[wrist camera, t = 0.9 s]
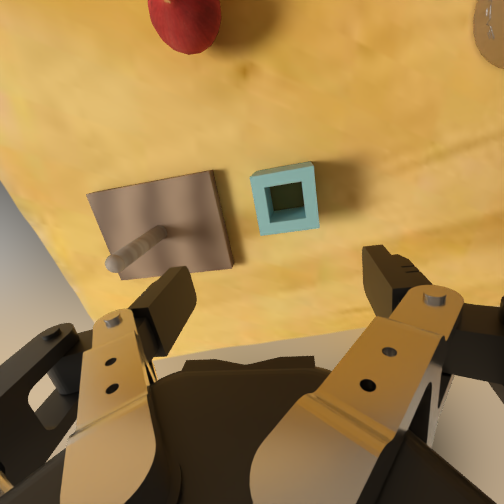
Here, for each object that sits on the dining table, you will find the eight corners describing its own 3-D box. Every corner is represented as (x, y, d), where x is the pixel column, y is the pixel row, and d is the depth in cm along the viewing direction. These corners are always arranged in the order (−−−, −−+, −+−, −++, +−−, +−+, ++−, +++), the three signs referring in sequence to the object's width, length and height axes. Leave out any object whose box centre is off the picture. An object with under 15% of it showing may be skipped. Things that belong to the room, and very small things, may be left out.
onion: (175, -21, 24) (125, -87, 17) (235, -3, 24) (210, -63, 17) (167, 54, 27) (120, 23, 20) (221, 70, 27) (195, 45, 20)
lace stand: (212, 169, 31) (170, 186, 20) (234, 263, 35) (209, 316, 25) (94, 192, 34) (6, 216, 24) (127, 275, 38) (65, 326, 28)
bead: (310, 161, 29) (313, 165, 24) (315, 214, 31) (319, 228, 27) (256, 171, 30) (249, 177, 26) (265, 221, 32) (260, 235, 28)
